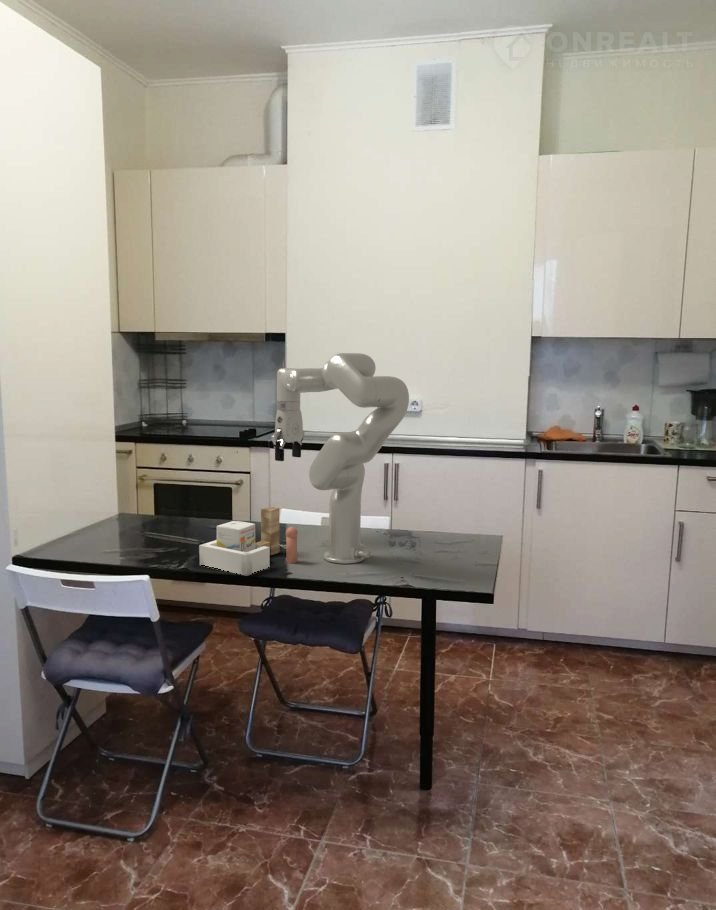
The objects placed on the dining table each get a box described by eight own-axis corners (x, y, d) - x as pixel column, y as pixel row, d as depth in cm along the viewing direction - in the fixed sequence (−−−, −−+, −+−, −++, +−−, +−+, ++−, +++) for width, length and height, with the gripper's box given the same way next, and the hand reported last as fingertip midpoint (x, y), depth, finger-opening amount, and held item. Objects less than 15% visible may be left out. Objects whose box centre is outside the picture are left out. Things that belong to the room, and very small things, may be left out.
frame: (269, 567, 210) (269, 547, 210) (247, 575, 202) (246, 555, 201) (222, 557, 220) (222, 538, 219) (199, 565, 211) (199, 545, 211)
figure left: (300, 561, 217) (300, 526, 215) (292, 564, 214) (292, 529, 212) (290, 559, 219) (290, 525, 217) (283, 562, 216) (283, 527, 214)
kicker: (287, 553, 224) (287, 509, 222) (264, 562, 215) (264, 516, 213) (261, 548, 229) (261, 505, 227) (238, 556, 220) (238, 511, 218)
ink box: (239, 568, 209) (239, 529, 207) (215, 564, 213) (215, 525, 211) (256, 561, 216) (256, 523, 215) (233, 557, 220) (233, 519, 218)
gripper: (282, 409, 225) (282, 463, 227) (312, 405, 240) (312, 456, 242) (263, 407, 228) (262, 461, 231) (294, 404, 243) (293, 454, 246)
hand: (288, 458), depth 236 cm, fingers open, 9 cm apart
